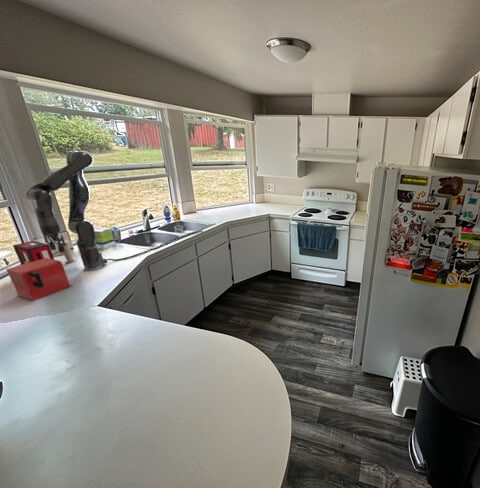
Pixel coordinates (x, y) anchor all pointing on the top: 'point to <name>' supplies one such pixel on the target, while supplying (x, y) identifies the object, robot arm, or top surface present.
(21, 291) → the cabinet
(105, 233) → the tea box
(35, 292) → the red cabinet door
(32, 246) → the cleaning product box
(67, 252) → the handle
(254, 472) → the top surface
